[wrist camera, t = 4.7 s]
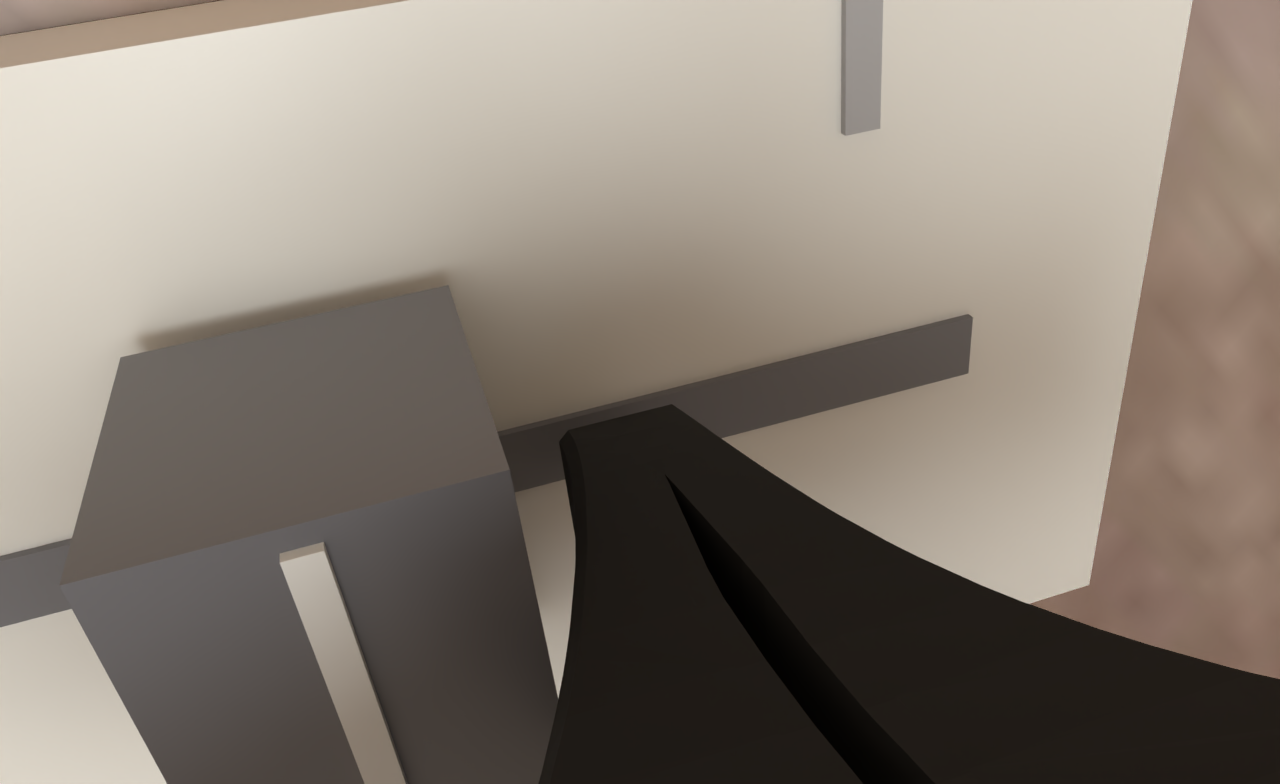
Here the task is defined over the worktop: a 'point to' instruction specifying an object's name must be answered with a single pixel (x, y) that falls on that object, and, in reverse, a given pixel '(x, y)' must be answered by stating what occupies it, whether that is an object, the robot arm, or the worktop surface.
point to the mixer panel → (596, 257)
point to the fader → (315, 558)
